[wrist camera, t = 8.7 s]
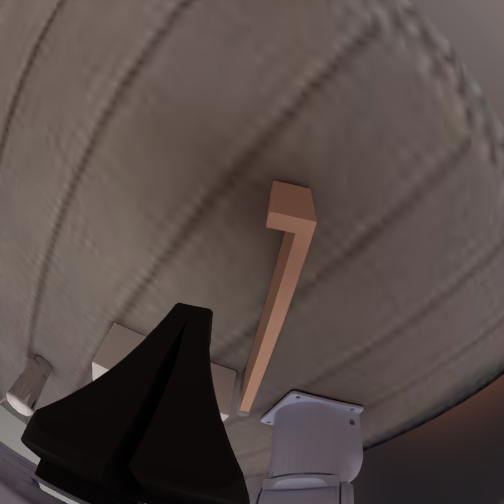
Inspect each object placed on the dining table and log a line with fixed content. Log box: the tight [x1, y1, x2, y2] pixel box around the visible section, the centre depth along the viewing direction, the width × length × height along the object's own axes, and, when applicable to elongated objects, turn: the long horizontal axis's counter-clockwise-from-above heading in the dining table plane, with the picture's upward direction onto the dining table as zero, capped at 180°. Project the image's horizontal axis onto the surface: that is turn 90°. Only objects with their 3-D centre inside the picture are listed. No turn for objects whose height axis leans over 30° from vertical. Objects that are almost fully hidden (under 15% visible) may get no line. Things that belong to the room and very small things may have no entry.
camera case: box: [92, 322, 237, 421], centre depth 27 cm, size 12×10×6 cm
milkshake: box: [0, 356, 52, 416], centre depth 30 cm, size 5×5×10 cm
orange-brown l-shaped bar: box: [236, 180, 317, 417], centre depth 21 cm, size 19×2×4 cm, turn 170°
